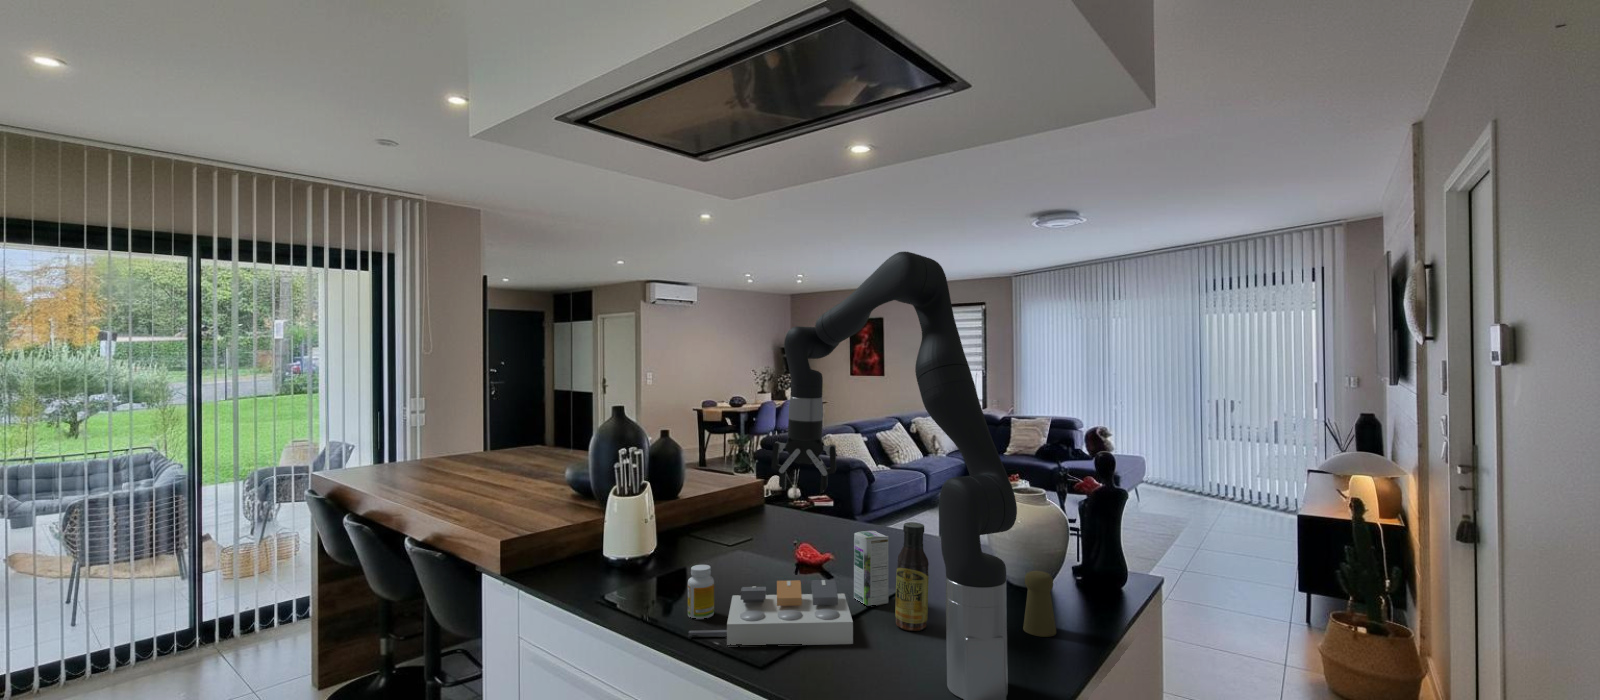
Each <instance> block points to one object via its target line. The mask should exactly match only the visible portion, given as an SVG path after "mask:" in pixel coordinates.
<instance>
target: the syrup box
mask: <svg viewBox="0 0 1600 700" xmlns="http://www.w3.org/2000/svg"><path fill="white" fill-rule="evenodd" d="M853 535H854V537H853V539H854V540H853V545H854V546H853V551H854V553H853V555H854V556H853V599H854V598H855V599H856V600H855V601H857V600H858V601H860V602H861V603H863V604H865V605H876V606H881V605H885V604H889V535H884V534H882V533H879V532H877V531H876V530H865V531H864V530H863V531H858V532H857V531H856V532H855V533H853ZM858 601H857V602H858ZM860 602H859V603H860ZM861 603H860V604H861ZM863 604H862V605H863Z"/></svg>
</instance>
